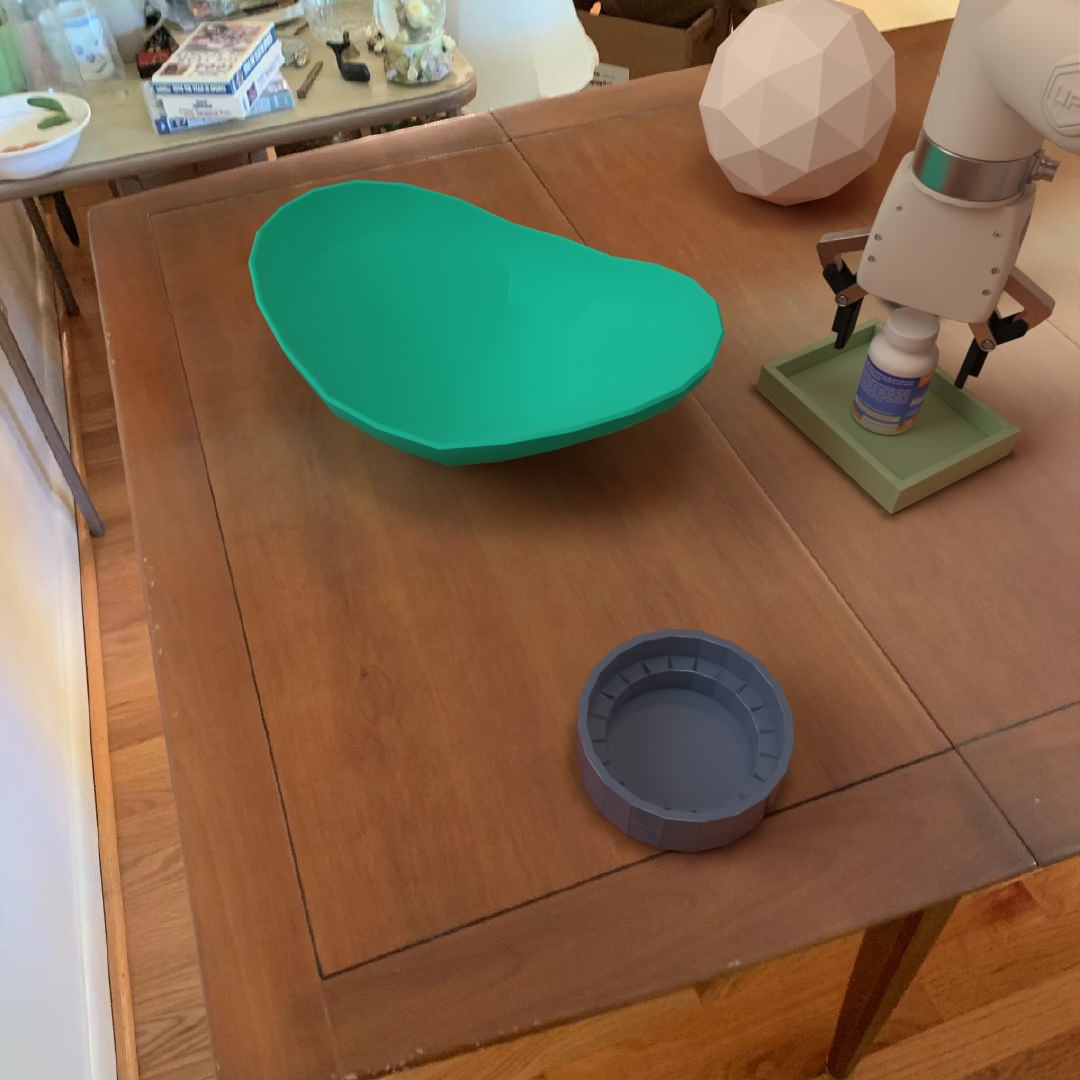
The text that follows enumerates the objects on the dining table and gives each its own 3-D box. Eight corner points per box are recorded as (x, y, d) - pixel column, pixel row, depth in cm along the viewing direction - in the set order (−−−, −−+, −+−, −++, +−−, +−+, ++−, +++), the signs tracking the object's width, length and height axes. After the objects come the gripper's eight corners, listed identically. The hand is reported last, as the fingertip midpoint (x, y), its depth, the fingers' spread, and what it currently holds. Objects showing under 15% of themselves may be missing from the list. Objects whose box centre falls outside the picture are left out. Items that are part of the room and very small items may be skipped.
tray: (1009, 454, 81) (1021, 430, 79) (891, 515, 77) (900, 491, 74) (868, 340, 90) (875, 316, 88) (756, 389, 86) (761, 365, 84)
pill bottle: (911, 443, 80) (948, 351, 73) (845, 428, 82) (875, 336, 74) (917, 400, 84) (953, 308, 76) (854, 387, 85) (883, 295, 77)
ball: (797, 267, 109) (849, 198, 89) (653, 162, 110) (673, 70, 90) (898, 131, 109) (973, 33, 89) (754, 28, 110) (796, -93, 90)
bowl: (822, 789, 62) (839, 753, 58) (650, 894, 58) (657, 863, 54) (699, 640, 69) (708, 599, 66) (539, 723, 65) (539, 685, 61)
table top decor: (759, 389, 86) (787, 261, 76) (611, 610, 71) (621, 488, 61) (396, 257, 99) (378, 132, 89) (206, 420, 84) (158, 293, 74)
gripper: (1120, 165, 64) (1023, 366, 77) (863, 104, 70) (814, 301, 83) (1098, 222, 60) (1000, 424, 73) (828, 152, 65) (782, 351, 79)
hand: (901, 358), depth 78 cm, fingers open, 9 cm apart
